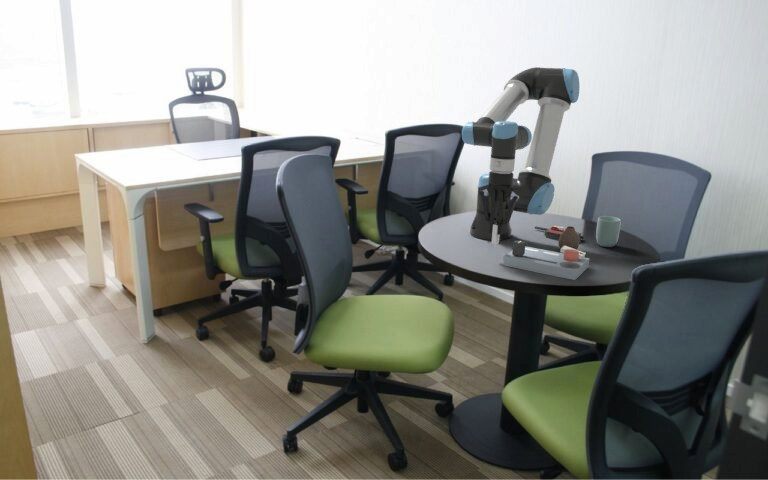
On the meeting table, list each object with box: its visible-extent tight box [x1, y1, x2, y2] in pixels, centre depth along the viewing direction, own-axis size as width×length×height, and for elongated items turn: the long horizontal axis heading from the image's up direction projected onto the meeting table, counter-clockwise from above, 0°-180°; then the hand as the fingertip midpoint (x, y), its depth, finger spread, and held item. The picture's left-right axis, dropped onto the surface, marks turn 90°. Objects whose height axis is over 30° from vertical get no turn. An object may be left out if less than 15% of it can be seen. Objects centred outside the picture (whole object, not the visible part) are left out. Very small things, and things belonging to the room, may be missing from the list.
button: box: [563, 249, 580, 262], centre depth 194 cm, size 4×4×3 cm
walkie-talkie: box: [534, 225, 585, 241], centre depth 238 cm, size 9×4×20 cm
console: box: [502, 245, 590, 281], centre depth 203 cm, size 23×15×4 cm, turn 58°
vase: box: [558, 225, 581, 250], centre depth 218 cm, size 7×7×9 cm
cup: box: [595, 215, 622, 248], centre depth 227 cm, size 8×8×10 cm
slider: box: [511, 240, 527, 256], centre depth 203 cm, size 3×3×4 cm
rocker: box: [559, 246, 587, 259], centre depth 202 cm, size 7×4×1 cm, turn 58°
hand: (495, 243), depth 206 cm, fingers closed
